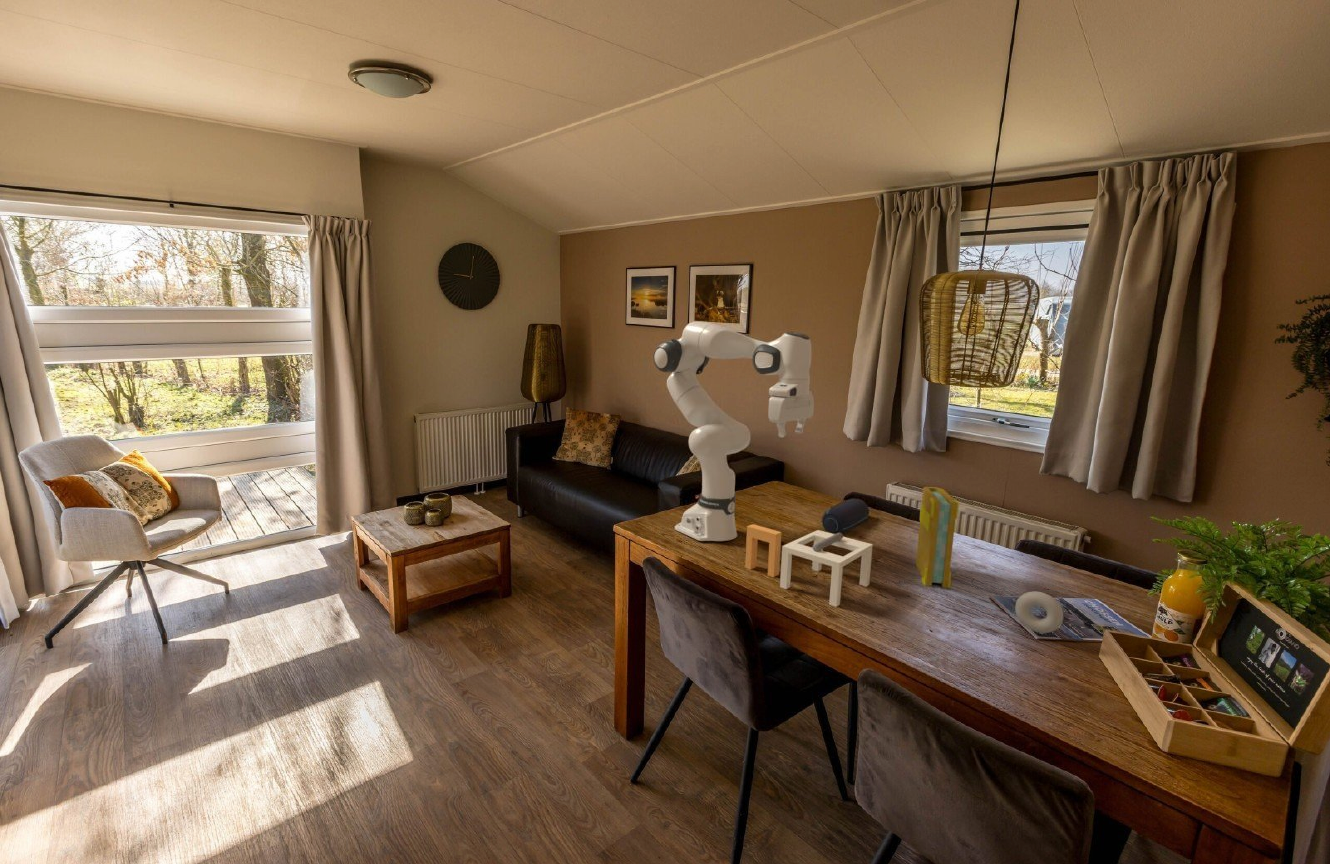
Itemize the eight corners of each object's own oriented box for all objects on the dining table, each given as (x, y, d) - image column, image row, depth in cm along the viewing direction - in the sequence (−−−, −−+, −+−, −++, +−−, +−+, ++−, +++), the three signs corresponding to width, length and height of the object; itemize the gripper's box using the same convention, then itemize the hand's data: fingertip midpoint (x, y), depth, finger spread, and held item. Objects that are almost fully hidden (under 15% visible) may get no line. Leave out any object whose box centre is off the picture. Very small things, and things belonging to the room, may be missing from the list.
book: (949, 588, 168) (959, 502, 164) (924, 585, 169) (933, 500, 165) (935, 565, 184) (943, 487, 180) (912, 563, 186) (919, 486, 182)
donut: (1061, 635, 142) (1067, 596, 140) (1059, 641, 139) (1064, 601, 138) (1014, 621, 149) (1019, 584, 147) (1011, 626, 146) (1016, 588, 144)
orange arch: (745, 567, 179) (747, 526, 177) (750, 564, 181) (752, 524, 179) (773, 577, 172) (775, 534, 170) (778, 574, 174) (781, 532, 172)
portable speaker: (845, 519, 230) (847, 494, 228) (870, 524, 224) (872, 499, 222) (816, 534, 211) (818, 507, 209) (843, 541, 205) (845, 513, 203)
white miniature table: (779, 587, 166) (782, 539, 163) (815, 567, 180) (818, 523, 178) (836, 606, 154) (840, 555, 152) (869, 584, 169) (873, 537, 167)
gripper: (801, 386, 183) (798, 430, 185) (765, 389, 168) (762, 437, 170) (820, 387, 179) (817, 433, 181) (785, 391, 164) (782, 440, 166)
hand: (790, 435), depth 175 cm, fingers open, 8 cm apart
